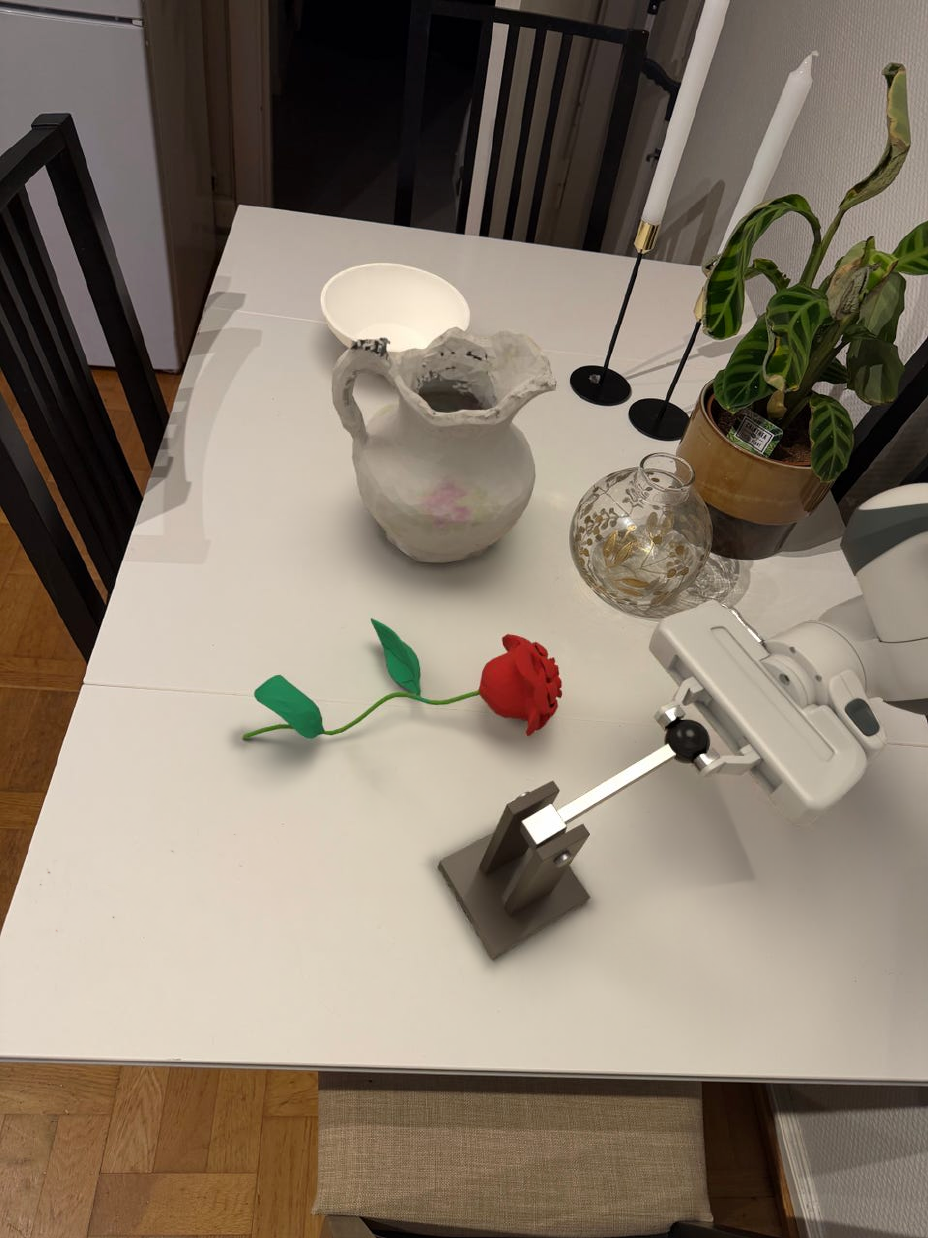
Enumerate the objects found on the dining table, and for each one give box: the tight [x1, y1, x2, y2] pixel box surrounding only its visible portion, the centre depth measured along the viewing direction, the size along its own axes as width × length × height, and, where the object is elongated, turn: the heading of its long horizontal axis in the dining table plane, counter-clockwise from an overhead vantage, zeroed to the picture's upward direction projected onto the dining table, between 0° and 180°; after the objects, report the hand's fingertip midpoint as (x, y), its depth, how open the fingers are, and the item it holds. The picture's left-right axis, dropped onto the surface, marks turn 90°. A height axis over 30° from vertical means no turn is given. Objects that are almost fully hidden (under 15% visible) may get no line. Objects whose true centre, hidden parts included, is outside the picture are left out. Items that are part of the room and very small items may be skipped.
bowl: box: [319, 262, 471, 359], centre depth 116 cm, size 20×20×7 cm
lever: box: [520, 718, 711, 853], centre depth 69 cm, size 17×4×4 cm, turn 121°
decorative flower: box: [242, 617, 563, 740], centre depth 82 cm, size 14×30×10 cm, turn 96°
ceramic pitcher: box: [331, 327, 557, 563], centre depth 90 cm, size 22×20×25 cm
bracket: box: [437, 780, 591, 960], centre depth 71 cm, size 10×9×14 cm
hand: (679, 745), depth 70 cm, fingers closed on lever, 3 cm apart
